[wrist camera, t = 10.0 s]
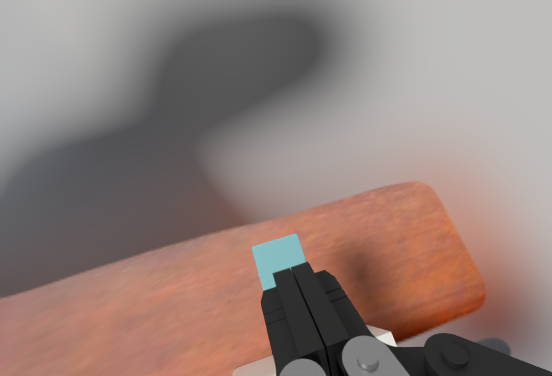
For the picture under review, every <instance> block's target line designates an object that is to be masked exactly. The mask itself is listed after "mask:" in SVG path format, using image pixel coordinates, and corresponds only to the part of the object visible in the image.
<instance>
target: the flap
mask: <svg viewBox="0 0 552 376" xmlns="http://www.w3.org/2000/svg"><path fill="white" fill-rule="evenodd" d="M251 248H252V252H253V255H254V259H255V263H256V266H257V270H258V274H259V277H260V281H261V285H262V288H263V291H264V290H267V289H270V288H273V287H276V285H275V281H274V278H273V274H272V273H275V272H278V271H281V270H284V269H287V268H290V269H291V267H293V266H296V265H299V264H302V263H305V262H306V261H305V258H304V254H303V251H302V248H301V245H300V242H299V239H298V236H297V233H296V234H293V235H289V236H286V237H283V238H279V239H276V240H273V241H270V242H266V243H263V244H260V245H256V246H253V247H251Z"/></svg>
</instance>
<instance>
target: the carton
mask: <svg viewBox="0 0 552 376" xmlns="http://www.w3.org/2000/svg"><path fill="white" fill-rule="evenodd" d="M366 326H367V327H368V329H369V330H370V332H371V333H372V334H373V335H374V336H375V337H376V338H377V339H378V340H380V341H382V342H383V343H385V344H388V345H391V346H395V347H397V345H396V343H395V340H394V338H393V336H392V333H391V332H390V331H387V330H383V329H380V328H376V327H373V326H369V325H366ZM232 376H276V367H275V363H274V358H273V355H271V356H268V357H265V358H262V359H259V360H257V361H254V362H251V363H248V364H246V365H243V366H240V367H237V368H235V370H234V372H233V374H232Z"/></svg>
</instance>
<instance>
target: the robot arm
mask: <svg viewBox="0 0 552 376" xmlns="http://www.w3.org/2000/svg"><path fill="white" fill-rule="evenodd" d="M272 274H273V278H274V281H275V285H276V287H273V288H270V289H267V290H264V291H263V295H262V299H261V306H262V310H263V315H264V319H265V323H266V328H267V332H268V336H269V341H270V345H271V350H272V354H273V358H274V363H275V367H276V376H552V372H550V371H547V370H545V369H542V368H539V367H536V366H534V365H532V364H529V363H526V362H524V361H521V360H519V359H516V358H513V357H511V356H508V355H506V354H503V353H501V352H498V351H495V350H493V349H490V348H488V347H485V346H482V345H480V344H477V343H475V342H472V341H469V340H467V339H464V338H462V337H459V336H456V335H453V334H447V333H440V334H435V335H433V336H431V337H430V338H428V340H427V341H426V343H425V346H424V347H395V346H391V345H388V344H385V343H383V342H382V341H380V340H378V339H377V338H376V337H375V336H374V335H373V334H372V333H371V332H370V330H369V329H368V327H367V326H366V324H365V323H364V321H363V320H362V318H361V317H360V315H359V313H358V312H357V310H356V309H355V307H354V306H353V304H352V303H351V301H350V300H349V298H348V297H347V295H346V293H345V292H344V290H343V289H342V288H341V286H340V284H339V283H338V281H337V280H336V278H335V277H334V276H333V275H331V274H330V273H328V272H327V271H325V270H323V271H320V272H317V273H314V271H313V270H312V268H311V266H310V264H309V263H308V262H305V263H302V264H299V265H296V266H293V267H291V269H290V268H287V269H284V270H281V271H278V272H275V273H272Z"/></svg>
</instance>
